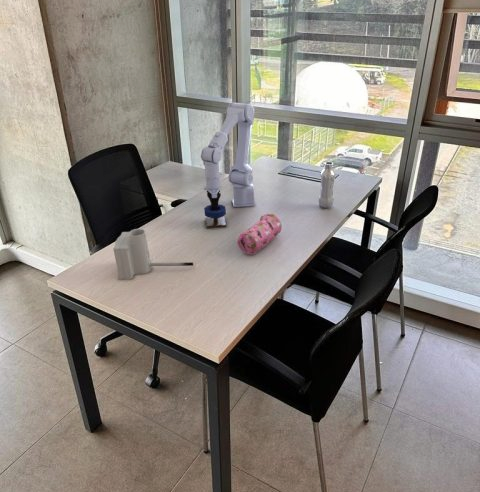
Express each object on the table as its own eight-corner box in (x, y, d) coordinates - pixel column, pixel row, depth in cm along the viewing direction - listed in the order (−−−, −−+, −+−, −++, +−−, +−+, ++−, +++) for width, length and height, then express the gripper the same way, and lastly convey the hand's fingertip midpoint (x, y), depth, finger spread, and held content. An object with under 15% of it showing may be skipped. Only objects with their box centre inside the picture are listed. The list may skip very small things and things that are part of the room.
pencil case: (262, 230, 186) (262, 210, 181) (282, 234, 182) (283, 214, 177) (236, 253, 170) (235, 232, 166) (257, 259, 166) (257, 237, 162)
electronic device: (126, 261, 168) (119, 224, 160) (195, 260, 167) (192, 223, 159) (117, 279, 158) (109, 241, 150) (191, 278, 157) (187, 240, 149)
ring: (224, 208, 194) (224, 203, 193) (226, 217, 187) (226, 212, 186) (204, 210, 194) (203, 204, 192) (205, 218, 186) (204, 213, 185)
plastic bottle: (316, 208, 202) (319, 164, 192) (320, 202, 208) (323, 160, 197) (331, 210, 200) (334, 166, 190) (334, 204, 205) (338, 161, 195)
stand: (224, 218, 196) (223, 206, 193) (226, 227, 190) (225, 213, 186) (206, 220, 196) (205, 207, 193) (207, 228, 189) (205, 215, 186)
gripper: (202, 171, 191) (204, 201, 198) (203, 183, 179) (205, 215, 186) (218, 170, 191) (220, 200, 199) (221, 182, 179) (223, 214, 186)
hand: (214, 207), depth 192 cm, fingers closed on ring, 2 cm apart
